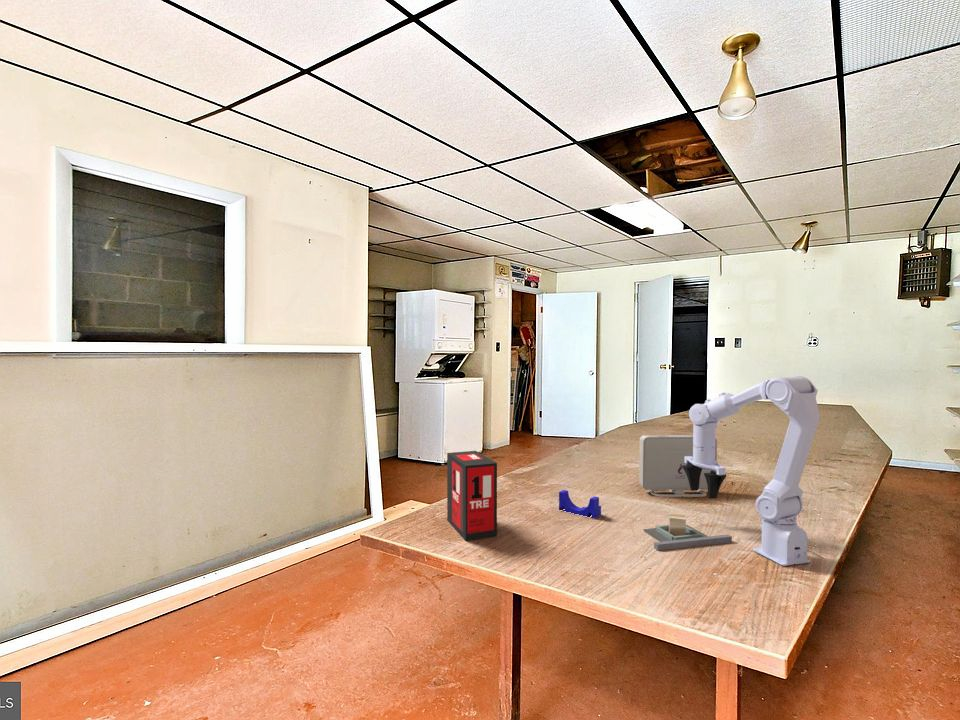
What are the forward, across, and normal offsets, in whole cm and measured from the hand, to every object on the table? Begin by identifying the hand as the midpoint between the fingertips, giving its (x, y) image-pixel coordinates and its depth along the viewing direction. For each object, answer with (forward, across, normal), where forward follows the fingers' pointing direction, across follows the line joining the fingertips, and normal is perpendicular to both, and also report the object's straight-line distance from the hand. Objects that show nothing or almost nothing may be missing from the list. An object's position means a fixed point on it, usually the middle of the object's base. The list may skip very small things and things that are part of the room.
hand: (703, 494), depth 142 cm
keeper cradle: (+9, -4, +11) cm, 15 cm away
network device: (+10, +30, -13) cm, 34 cm away
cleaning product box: (+10, +15, +64) cm, 66 cm away
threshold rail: (+9, -10, +11) cm, 18 cm away
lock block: (+9, -4, +11) cm, 15 cm away
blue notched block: (+10, +19, +29) cm, 36 cm away
